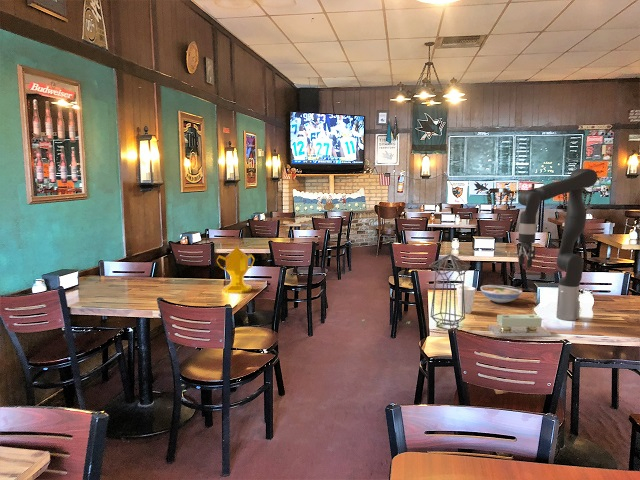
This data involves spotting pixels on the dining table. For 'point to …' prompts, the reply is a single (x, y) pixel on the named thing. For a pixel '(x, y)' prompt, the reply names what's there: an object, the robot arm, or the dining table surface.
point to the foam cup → (466, 298)
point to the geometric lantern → (450, 287)
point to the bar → (519, 320)
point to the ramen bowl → (501, 293)
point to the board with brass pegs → (518, 331)
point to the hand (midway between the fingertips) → (525, 265)
